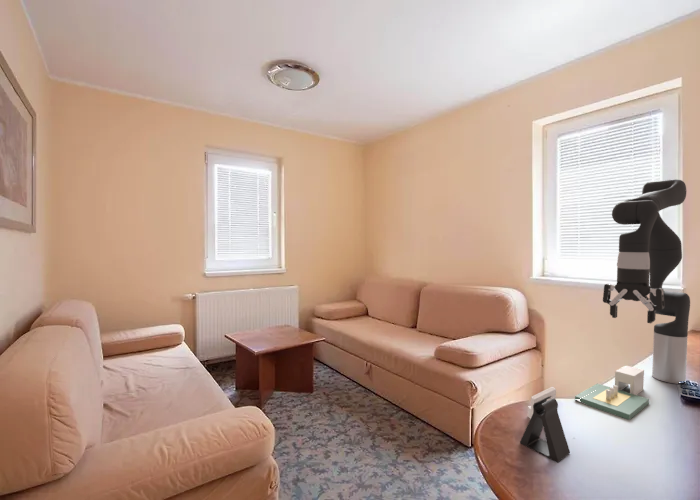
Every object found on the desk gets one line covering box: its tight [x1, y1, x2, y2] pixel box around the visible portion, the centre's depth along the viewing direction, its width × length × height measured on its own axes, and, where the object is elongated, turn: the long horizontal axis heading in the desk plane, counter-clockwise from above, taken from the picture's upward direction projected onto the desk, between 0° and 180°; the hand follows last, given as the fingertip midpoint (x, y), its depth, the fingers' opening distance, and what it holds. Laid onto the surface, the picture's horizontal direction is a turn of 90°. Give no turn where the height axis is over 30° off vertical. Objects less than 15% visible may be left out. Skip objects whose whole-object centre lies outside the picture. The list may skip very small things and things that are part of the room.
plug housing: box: [614, 365, 645, 395], centre depth 117 cm, size 10×5×7 cm, turn 125°
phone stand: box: [519, 397, 571, 463], centre depth 83 cm, size 9×6×12 cm, turn 34°
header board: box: [574, 383, 650, 421], centre depth 108 cm, size 18×14×4 cm
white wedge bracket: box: [527, 386, 557, 420], centre depth 96 cm, size 4×10×9 cm, turn 84°
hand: (631, 320), depth 103 cm, fingers open, 8 cm apart
